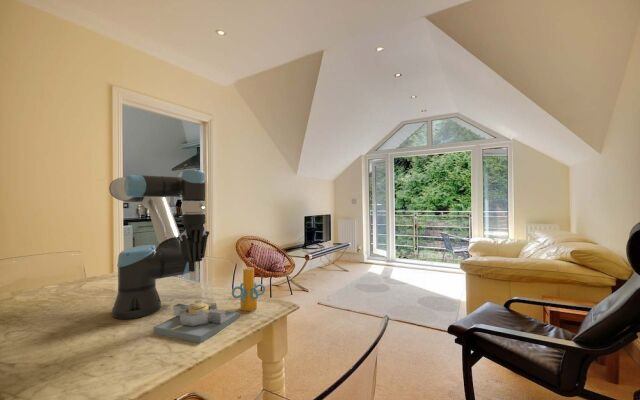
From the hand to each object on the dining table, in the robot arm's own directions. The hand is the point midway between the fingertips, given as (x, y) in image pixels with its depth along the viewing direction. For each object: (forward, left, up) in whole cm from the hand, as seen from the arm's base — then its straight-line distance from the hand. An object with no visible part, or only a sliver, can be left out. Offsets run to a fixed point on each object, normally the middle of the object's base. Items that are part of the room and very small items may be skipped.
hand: (194, 279), depth 102 cm
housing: (+8, -6, -12) cm, 16 cm away
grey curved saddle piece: (+8, -6, -10) cm, 14 cm away
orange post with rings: (+15, +12, -13) cm, 23 cm away
